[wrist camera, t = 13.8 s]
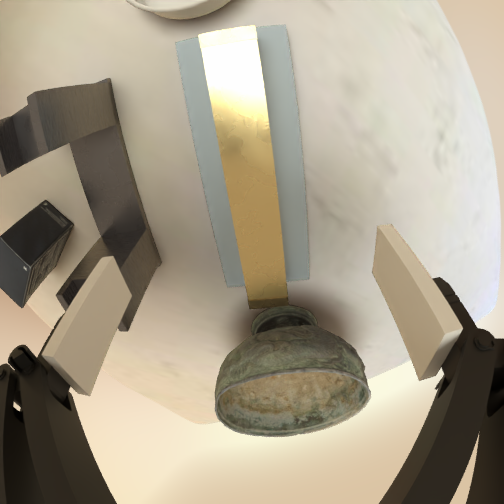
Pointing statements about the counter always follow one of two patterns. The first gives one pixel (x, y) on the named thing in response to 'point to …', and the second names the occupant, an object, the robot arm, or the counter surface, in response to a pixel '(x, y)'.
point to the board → (283, 145)
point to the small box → (31, 251)
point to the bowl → (289, 378)
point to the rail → (247, 160)
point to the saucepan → (179, 7)
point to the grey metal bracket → (89, 179)
